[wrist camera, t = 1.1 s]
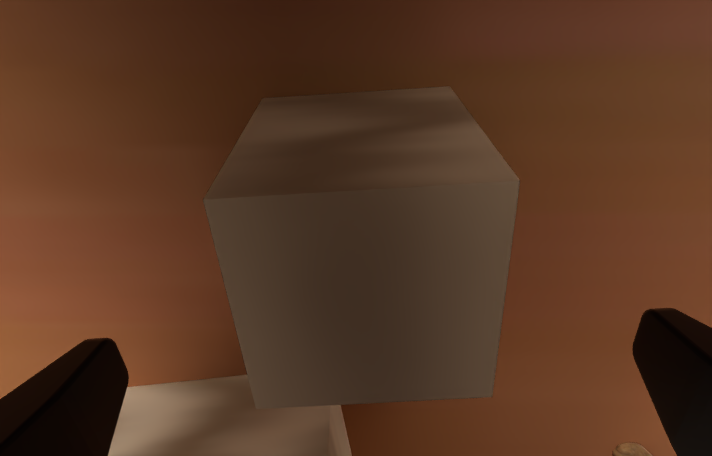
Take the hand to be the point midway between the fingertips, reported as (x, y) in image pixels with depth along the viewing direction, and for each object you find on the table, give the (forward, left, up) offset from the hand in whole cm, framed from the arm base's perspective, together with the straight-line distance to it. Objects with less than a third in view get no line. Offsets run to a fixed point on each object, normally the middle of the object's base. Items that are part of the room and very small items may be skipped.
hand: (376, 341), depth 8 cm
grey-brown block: (0, 0, -7) cm, 7 cm away
